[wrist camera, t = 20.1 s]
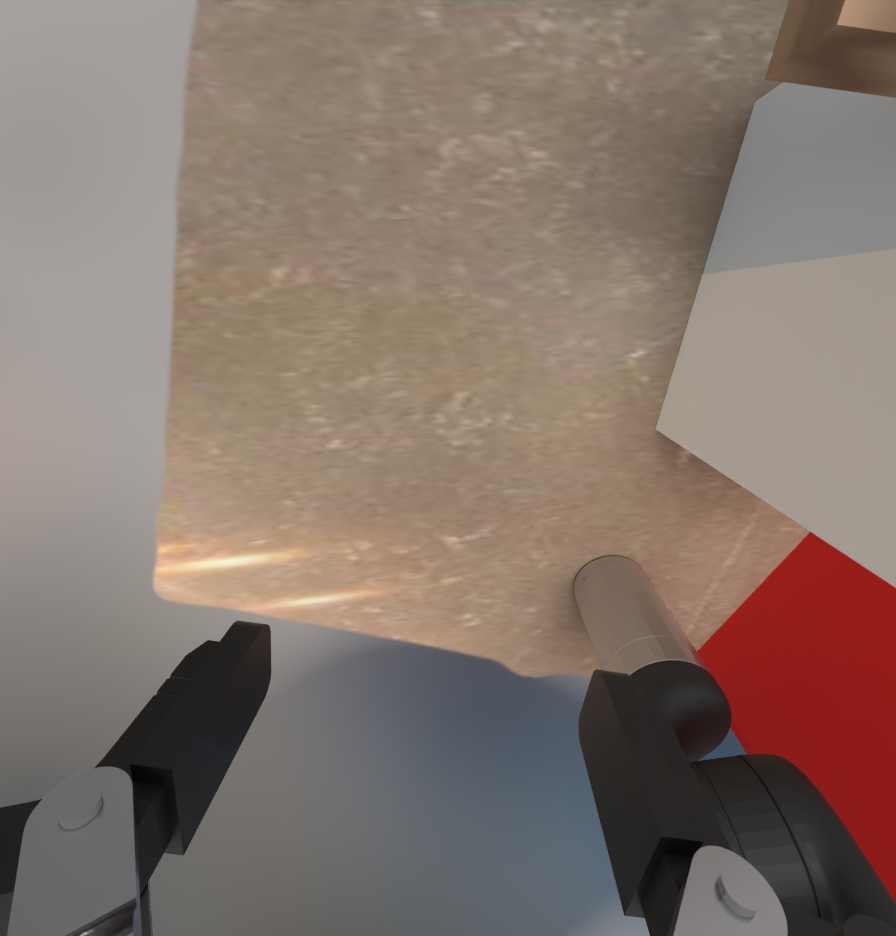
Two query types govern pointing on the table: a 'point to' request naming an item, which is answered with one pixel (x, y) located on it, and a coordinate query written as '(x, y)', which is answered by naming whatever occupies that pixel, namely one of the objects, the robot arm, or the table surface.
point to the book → (820, 686)
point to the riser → (802, 322)
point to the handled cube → (838, 46)
